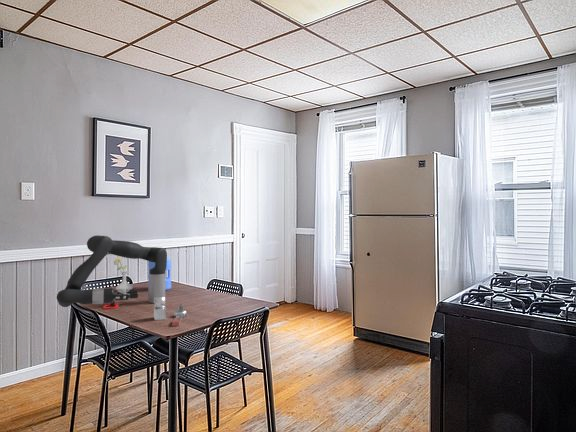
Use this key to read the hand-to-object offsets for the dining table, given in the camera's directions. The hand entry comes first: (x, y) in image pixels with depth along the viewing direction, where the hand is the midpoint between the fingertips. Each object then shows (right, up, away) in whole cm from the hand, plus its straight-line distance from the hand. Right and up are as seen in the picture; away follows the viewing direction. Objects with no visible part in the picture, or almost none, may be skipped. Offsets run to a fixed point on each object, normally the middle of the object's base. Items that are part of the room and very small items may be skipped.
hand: (137, 294), depth 213 cm
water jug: (-14, -12, +82) cm, 84 cm away
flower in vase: (-37, -12, +75) cm, 85 cm away
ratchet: (+21, -14, +1) cm, 25 cm away
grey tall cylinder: (+10, -13, +4) cm, 17 cm away
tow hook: (-25, -13, +28) cm, 40 cm away
